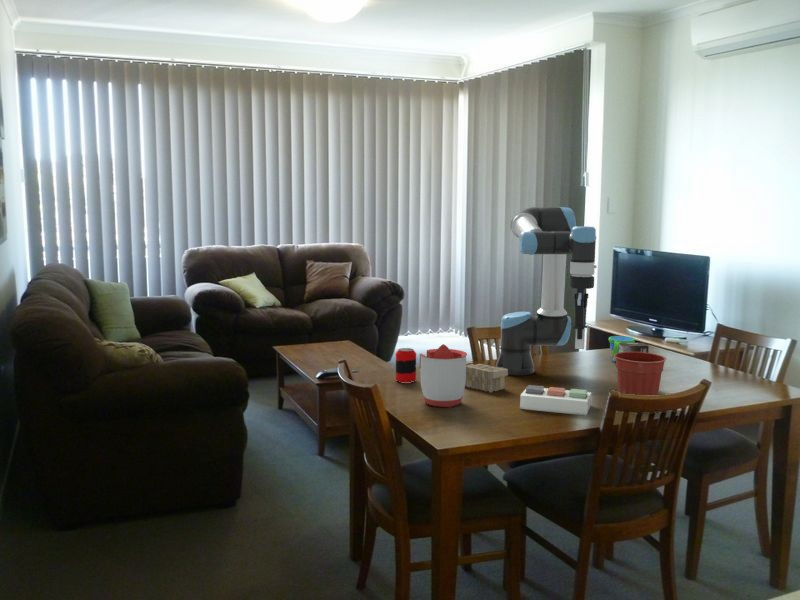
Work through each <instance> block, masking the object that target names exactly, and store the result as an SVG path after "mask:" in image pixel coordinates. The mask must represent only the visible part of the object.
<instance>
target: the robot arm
mask: <svg viewBox="0 0 800 600" xmlns="http://www.w3.org/2000/svg"><path fill="white" fill-rule="evenodd" d="M576 220H577V219H576V216H575V213H574V211H573V209H571V208H570V207H563V206H550V207H549V206H548V207H547V206H541V207H540V206H539V207H537V206H536V207H535V206H532V207H526V208H524V209H522V210H520V211H518V212H517V213H516V214H514V215H513V216H512V219H511V220H510V229H511V231H512V233H513V235H514V236H515V237H517V238H519V243H518V244H519V247H518V248H519V252H520V253H521V254H522V255H530V256H531V255H532V256H533V255H543V256H542V259H543V261H542V275H541V277H542V278H541V279H542V281H541V298H540V300H541V303H540V307H539V308H538V309H537V311H536V315H532V313H531V311H516V312H510V313H506V314H504V315H503V316H501V317H502V318H501V321H500V322H501V323H500V352H499V354H498V357H497V361H496V364H495V367H499V368H504V369H508V375H507V376H528V375H533V374H534V373H535V364H534V361H533V358H532V355H531V346H544V347H545V346H549V347H550V346H552V347H557V346H564V345H567V343H568V341H569V340H570V336H571V330H572V319H571V317H570V316H569V315H568V312H567V311H566V309H565V308H564V305H565V285H566V268H567V267H566V266H567V255H570V262H569V263H570V265H569V274H571V275H570V277H569V287H570V288H572V289H576V293H574V297H573V299H574V309H575V310H574V311H575V314H574V315H575V317H574V319H575V321H574V322H575V323H574V324H575V325H574V326H573V330H575V339H574V349H575V350H577V349H578V350H584V349H585V340H586V339H585V336H586V335H585V334H586V329H587V328H588V325H587V322H586V321H587V306H588V299H589V293H588V292H587V290H588V289H589V290H590V289H593V288H594V287H595V277H594V275H595V269H597V265H596V264H595V263H596V262H595V261H596V246H597V243H596V242H597V241H596V240H597V234H596V233H597V232H596V230H597V229H596V227H594V226H589V225H588V226H580V225H579V226H577V221H576Z"/></svg>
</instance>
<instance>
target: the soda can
mask: <svg viewBox="0 0 800 600" xmlns="http://www.w3.org/2000/svg"><path fill="white" fill-rule="evenodd" d="M416 364H417V352H416V351H415V350H414V348H411V347H401V348H398V349H397V351H396V352H395V381H396V380H397V381H400V382H411V381H415V380H416V381H417V367H416ZM397 381H396V382H397ZM416 381H415V382H416Z"/></svg>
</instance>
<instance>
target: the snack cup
mask: <svg viewBox="0 0 800 600" xmlns="http://www.w3.org/2000/svg"><path fill="white" fill-rule="evenodd" d="M608 342H609V348H610V351H609V352H610V358H611V362H613V363H615V364H616V358H615V357H614V354H616V353H619V343H636V338H634V337H632V336H627V335H626V336H624V335H612V336H609V337H608Z"/></svg>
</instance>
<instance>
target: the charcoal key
mask: <svg viewBox="0 0 800 600" xmlns="http://www.w3.org/2000/svg"><path fill="white" fill-rule="evenodd" d="M544 388H545V386H544V385H533V384H532V385H531V384H529V385H527V386H526V388H525V389H526V393H528V394H539V395H542V394H543V392H544Z"/></svg>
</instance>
